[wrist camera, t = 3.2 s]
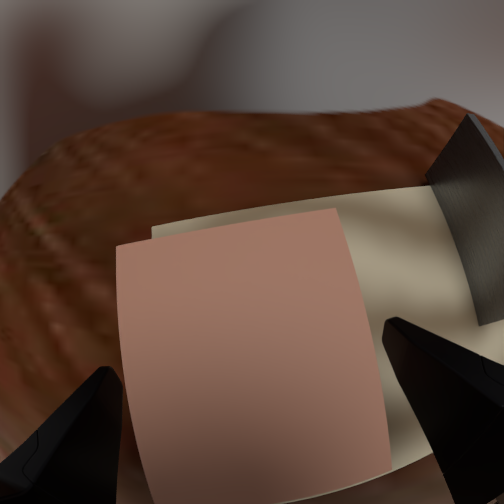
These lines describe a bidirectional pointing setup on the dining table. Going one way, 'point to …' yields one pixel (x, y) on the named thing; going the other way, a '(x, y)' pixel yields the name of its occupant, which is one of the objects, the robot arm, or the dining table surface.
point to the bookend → (474, 212)
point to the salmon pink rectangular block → (250, 362)
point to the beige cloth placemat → (393, 285)
